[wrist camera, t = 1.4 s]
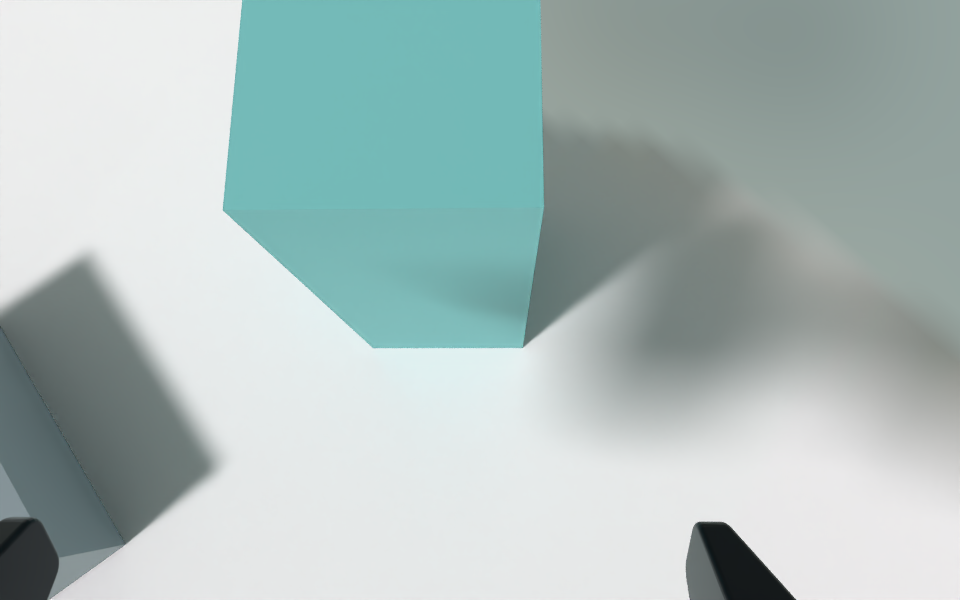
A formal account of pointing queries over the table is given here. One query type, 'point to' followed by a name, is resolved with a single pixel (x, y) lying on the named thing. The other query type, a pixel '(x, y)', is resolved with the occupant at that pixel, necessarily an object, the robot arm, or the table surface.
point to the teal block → (395, 161)
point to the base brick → (47, 477)
